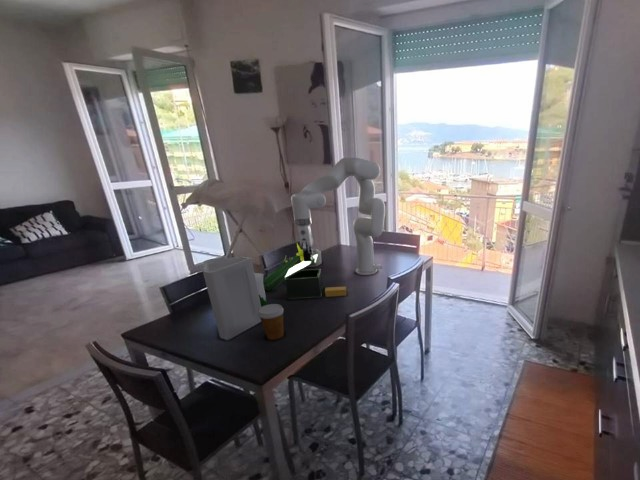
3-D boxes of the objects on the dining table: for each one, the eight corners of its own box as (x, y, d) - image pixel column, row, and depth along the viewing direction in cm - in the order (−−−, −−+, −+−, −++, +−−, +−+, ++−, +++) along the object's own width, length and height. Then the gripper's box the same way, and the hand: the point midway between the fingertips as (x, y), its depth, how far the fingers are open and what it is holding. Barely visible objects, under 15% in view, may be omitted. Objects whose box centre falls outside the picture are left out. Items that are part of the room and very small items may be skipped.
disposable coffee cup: (266, 330, 145) (261, 304, 140) (289, 329, 146) (285, 302, 141) (260, 342, 137) (254, 314, 132) (285, 341, 137) (280, 313, 132)
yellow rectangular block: (346, 292, 180) (345, 286, 179) (346, 295, 176) (345, 289, 175) (326, 293, 179) (325, 287, 178) (325, 296, 175) (325, 290, 174)
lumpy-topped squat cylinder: (300, 265, 219) (298, 252, 215) (311, 259, 230) (309, 246, 227) (315, 267, 216) (313, 253, 212) (325, 260, 227) (324, 247, 224)
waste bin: (323, 288, 185) (320, 268, 181) (320, 298, 174) (318, 277, 170) (292, 290, 184) (289, 270, 180) (288, 300, 173) (285, 279, 168)
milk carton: (243, 316, 158) (233, 274, 149) (257, 307, 165) (248, 267, 157) (259, 318, 155) (250, 276, 147) (272, 310, 163) (265, 268, 154)
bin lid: (317, 255, 178) (312, 246, 176) (315, 263, 166) (309, 254, 164) (289, 270, 180) (284, 262, 177) (285, 279, 168) (279, 270, 166)
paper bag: (240, 313, 160) (226, 253, 149) (264, 319, 154) (252, 257, 143) (202, 332, 145) (184, 267, 133) (227, 340, 139) (210, 272, 127)
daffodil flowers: (252, 288, 189) (294, 254, 212) (274, 304, 188) (314, 268, 211) (253, 269, 176) (298, 235, 199) (277, 285, 175) (319, 249, 198)
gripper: (309, 225, 157) (314, 264, 165) (313, 217, 172) (317, 253, 180) (292, 226, 156) (298, 265, 164) (297, 218, 171) (302, 254, 179)
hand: (308, 258), depth 172 cm, fingers closed on bin lid, 5 cm apart
